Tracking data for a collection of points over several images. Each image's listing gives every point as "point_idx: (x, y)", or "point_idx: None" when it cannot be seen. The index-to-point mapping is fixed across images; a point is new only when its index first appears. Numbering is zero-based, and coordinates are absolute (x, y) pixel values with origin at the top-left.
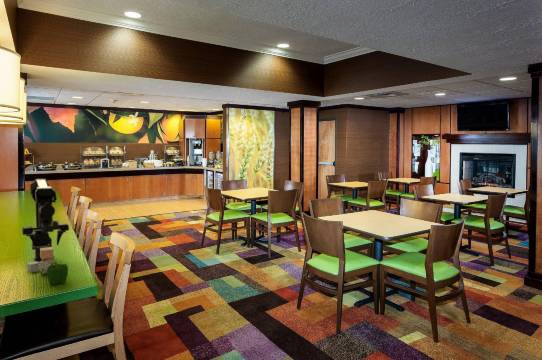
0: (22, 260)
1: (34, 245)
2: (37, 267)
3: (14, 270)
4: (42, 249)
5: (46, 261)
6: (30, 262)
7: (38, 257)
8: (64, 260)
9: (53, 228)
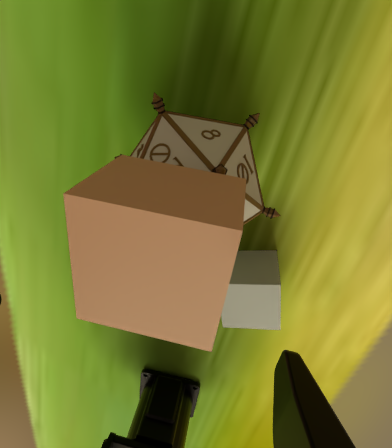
0: (235, 424)
1: (312, 392)
2: (234, 264)
3: (322, 338)
4: (202, 280)
5: (201, 151)
6: (260, 325)
7: (181, 397)
8: (84, 321)
9: None
